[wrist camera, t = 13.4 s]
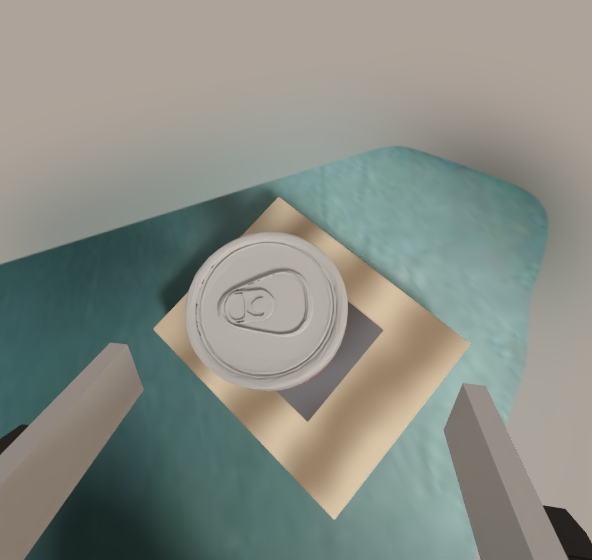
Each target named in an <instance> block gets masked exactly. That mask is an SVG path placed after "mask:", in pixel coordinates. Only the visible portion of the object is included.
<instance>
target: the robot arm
mask: <svg viewBox="0 0 592 560" xmlns="http://www.w3.org/2000/svg"><path fill="white" fill-rule="evenodd" d="M142 392H143V387H142V384H141V381H140V378H139V376H138V373H137V370H136V367H135V365H134V362H133V359H132V356H131V353H130V351H129V348H128V345H126V344H118V343H109V345H108V346H107V347H106V348H105V349H104V350H103V351H102V352H101V353H100V354H99V355H98V356H97V357H96V358H95V359H94V360H93V361H92V362H91V363H90V364H89V365H88V366H87V367H86V368H85V369H84V370H83V371H82V372H81V373H80V374H79V375H78V376H77V377H76V378H75V379H74V380H73V381H72V382H71V383H70V384H69V385H68V386H67V387H66V388H65V389H64V390H63V391H62V393H61V394H60V395H59V396H58V397H57V398H56V399H55V400H54V401H53V402H52V403H51V404H50V405H49V406H48V407H47V408H46V409H45V410H44V411H43V412H42V413H41V414H40V415H39V416H38V417H37V418H36V419H35V420H34V421H33V422H32V423H31V424H30V425H20V426H19V427H17V428H16V429H14V430H13V431H11V432H10V433H8V434H7V435H5V436H4V437H2V438H1V439H0V560H24V559H25V557H26V556H27V555H28V553H29V552H30V550H31V549H32V548H33V546H34V545H35V543H36V542H37V540H38V539H39V538H40V536H41V535H42V533H43V532H44V531H45V529H46V528H47V526H48V525H49V523H50V522H51V521H52V519H53V518H54V516H55V515H56V513H57V512H58V511H59V509H60V508H61V506H62V505H63V504H64V502H65V501H66V499H67V498H68V496H69V495H70V494H71V492H72V491H73V489H74V488H75V487H76V485H77V484H78V482H79V481H80V479H81V478H82V477H83V475H84V474H85V472H86V471H87V470H88V468H89V467H90V465H91V464H92V462H93V461H94V460H95V458H96V457H97V455H98V454H99V453H100V451H101V450H102V448H103V447H104V445H105V444H106V443H107V441H108V440H109V438H110V437H111V436H112V434H113V433H114V431H115V430H116V428H117V427H118V426H119V424H120V423H121V421H122V420H123V419H124V417H125V416H126V414H127V413H128V411H129V410H130V409H131V407H132V406H133V404H134V403H135V402H136V400H137V399H138V397H139V396H140V394H141V393H142ZM444 433H445V437H446V440H447V444H448V447H449V451H450V454H451V458H452V461H453V465H454V468H455V471H456V475H457V478H458V482H459V485H460V489H461V492H462V496H463V499H464V503H465V506H466V510H467V513H468V517H469V520H470V524H471V527H472V531H473V534H474V538H475V541H476V545H477V548H478V552H479V555H480V559H481V560H592V543H591V541H590V540H589V537H588V536H587V534H586V532H585V531H584V530H583V529H582V528H581V527H580V526H579V524H578V523H577V522H576V521H575V520H574V519H573V517H572V516H571V515H570V514H569V513H568V512H567V510H566V509H562V508H555V507H550V506H543V505H542V503H541V501H540V499H539V497H538V495H537V493H536V491H535V489H534V487H533V485H532V483H531V480H530V478H529V476H528V474H527V472H526V470H525V468H524V466H523V463H522V461H521V459H520V457H519V455H518V453H517V451H516V449H515V447H514V445H513V443H512V441H511V438H510V436H509V434H508V432H507V430H506V428H505V426H504V424H503V422H502V419H501V417H500V415H499V413H498V411H497V409H496V407H495V405H494V403H493V401H492V398H491V396H490V394H489V392H488V390H487V388H486V386H481V385H473V384H464V383H463V384H462V387H461V389H460V392H459V394H458V397H457V399H456V401H455V404H454V406H453V409H452V411H451V414H450V416H449V418H448V421H447V423H446V426H445V428H444Z"/></svg>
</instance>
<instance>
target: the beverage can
mask: <svg viewBox="0 0 592 560" xmlns="http://www.w3.org/2000/svg"><path fill="white" fill-rule="evenodd" d="M347 315H348V299H347V294H346V289H345V284H344V282H343V279H342V277H341V275H340V272H339V271H338V269H337V267H336V266H335V264H334V263H333V262H332V261H331V259H330V258H329V257H328V256H327V255H326V254H325V253H324V252H323V251H322V250H321V249H320V248H318V247H317V246H315V245H314V244H312V243H311V242H309V241H307V240H305V239H303V238H300V237H298V236H295V235H291V234H286V233H280V232H261V233H254V234H249V235H246V236H243V237H240V238H237V239H235V240H233V241H231V242H229V243H227V244H225V245H224V246H222V247H221V248H219V249H218V250H217V251H216V252H214V253H213V254H212V255H211V256H210V257H209V258H208V259H207V260H206V261H205V262H204V263H203V265H202V266H201V267H200V269H199V270H198V271H197V273H196V275H195V277H194V279H193V281H192V284H191V286H190V288H189V291H188V294H187V298H186V303H185V324H186V330H187V335H188V338H189V340H190V343H191V346H192V348H193V350H194V351H195V353H196V355H197V356H198V357H199V359H200V360H201V361H202V363H203V364H204V365H205V366H206V367H207V368H208V369H209V370H210V371H211V372H213V373H214V374H216V375H217V376H219V377H220V378H222V379H223V380H225V381H227V382H229V383H232V384H235V385H237V386H240V387H245V388H249V389H253V390H257V391H265V392H268V391H279V390H287V389H289V388H292V387H295V386H298V385H300V384H303V383H305V382H306V381H308V380H310V379H311V378H313V377H315V376H316V375H317V374H318V373H319V372H321V371H322V370H323V369H324V368H325V367H326V366H327V365H328V364H329V362H330V361H331V360H332V358H333V357H334V356H335V354H336V352H337V350H338V349H339V347H340V345H341V342H342V339H343V337H344V334H345V329H346V325H347Z"/></svg>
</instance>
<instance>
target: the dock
mask: <svg viewBox="0 0 592 560" xmlns="http://www.w3.org/2000/svg"><path fill="white" fill-rule="evenodd" d="M261 232H280V233H286V234H291V235H295V236H298V237H300V238H303V239H305V240H307V241H309V242H311V243H312V244H314V245H315V246H317V247H318V248H320V249H321V250H322V251H323V252H324V253H325V254H326V255H327V256H328V257H329V258H330V259H331V261H332V262H333V263H334V264H335V266H336V267H337V269H338V271H339V272H340V275H341V277H342V279H343V282H344V284H345V289H346V294H347V299H348V315H347V325H346V329H345V334H344V337H343V339H342V342H341V345H340V347H339V349H338V350H337V352H336V354H335V356H334V357H333V358H332V360H331V361H330V362H329V364H328V365H327V366H326V367H325V368H324V369H323V370H322V371H321V372H319V373H318V374H317V375H316V376H315V377H313V378H311V379H310V380H308V381H306V382H305V383H303V384H300V385H298V386H295V387H292V388H289V389H287V390H279V391H268V392H265V391H257V390H253V389H249V388H245V387H240V386H237V385H235V384H232V383H229V382H227V381H225V380H223V379H222V378H220V377H219V376H217V375H216V374H214V373H213V372H211V371H210V370H209V369H208V368H207V367H206V366H205V365H204V364H203V363H202V361H201V360H200V359H199V357H198V356H197V355H196V353H195V351H194V350H193V348H192V346H191V343H190V340H189V338H188V335H187V330H186V324H185V303H186V298H187V294H188V293H187V294H186V295H185V296H184V297H183V298H182V299H181V300H180V301H179V302H178V303H177V304H176V305H175V306H174V307H173V308H172V309H171V311H170V312H169V313H168V314H167V315H166V316H165V317H164V318H163V319H162V320H161V321H160V322H159V323H158V324H157V325H156V326H155V327H154V328H153V329H154V331H155V332H156V333H157V334H158V335H159V336H160V337H161V338H162V339H163V340H164V341H165V342H166V343H167V344H168V345H169V346H170V347H171V348H172V349H173V351H174V352H175V353H176V354H177V355H178V356H179V357H180V358H181V359H182V360H183V361H184V362H185V363H186V364H187V365H188V366H189V367H190V368H191V370H192V371H193V372H194V373H195V374H196V375H197V376H198V377H199V378H200V379H201V380H202V381H203V382H204V383H205V384H206V385H207V386H208V387H209V388H210V390H211V391H212V392H213V393H214V394H215V395H216V396H217V397H218V398H219V399H220V400H221V401H222V402H223V403H224V404H225V405H226V406H227V407H228V409H229V410H230V411H231V412H232V413H233V414H234V415H235V416H236V417H237V418H238V419H239V420H240V421H241V422H242V423H243V424H244V425H245V426H246V427H247V429H248V430H249V431H250V432H251V433H252V434H253V435H254V436H255V437H256V438H257V439H258V440H259V441H260V442H261V443H262V444H263V445H264V446H265V448H266V449H267V450H268V451H269V452H270V453H271V454H272V455H273V456H274V457H275V458H276V459H277V460H278V461H279V462H280V463H281V464H282V465H283V466H284V468H285V469H286V470H287V471H288V472H289V473H290V474H291V475H292V476H293V477H294V478H295V479H296V480H297V481H298V482H299V483H300V484H301V485H302V487H303V488H304V489H305V490H306V491H307V492H308V493H309V494H310V495H311V496H312V497H313V498H314V499H315V500H316V501H317V502H318V503H319V504H320V505H321V507H322V508H323V509H324V510H325V511H326V512H327V513H328V514H329V515H330V516H331V517H332V518H333V519H334V520H335V519H336V517H337V516H338V515H339V513H340V512H341V511H342V510H343V508H344V507H345V506H346V504H347V503H348V502H349V501H350V499H351V498H352V497H353V495H354V494H355V493H356V491H357V490H358V489H359V488H360V486H361V485H362V484H363V482H364V481H365V480H366V479H367V477H368V476H369V475H370V473H371V472H372V471H373V470H374V468H375V467H376V466H377V464H378V463H379V462H380V460H381V459H382V458H383V457H384V455H385V454H386V453H387V451H388V450H389V449H390V448H391V446H392V445H393V444H394V442H395V441H396V440H397V438H398V437H399V436H400V435H401V433H402V432H403V431H404V429H405V428H406V427H407V426H408V424H409V423H410V422H411V420H412V419H413V418H414V417H415V415H416V414H417V413H418V411H419V410H420V409H421V407H422V406H423V405H424V404H425V402H426V401H427V400H428V398H429V397H430V396H431V395H432V393H433V392H434V391H435V389H436V388H437V387H438V385H439V384H440V383H441V382H442V380H443V379H444V378H445V376H446V375H447V374H448V373H449V371H450V370H451V369H452V367H453V366H454V365H455V364H456V362H457V361H458V360H459V358H460V357H461V356H462V354H463V353H464V352H465V351H466V349H467V348H468V347H469V345H470V343H469V342H468V341H466V340H465V339H464V338H463V337H461V336H460V335H459V334H457V333H456V332H455V331H453V330H452V329H451V328H450V327H448V326H447V325H446V324H444V323H443V322H442V321H440V320H439V319H438V318H436V317H435V316H434V315H433V314H431V313H430V312H429V311H427V310H426V309H425V308H423V307H422V306H421V305H420V304H418V303H417V302H416V301H414V300H413V299H412V298H410V297H409V296H408V295H406V294H405V293H404V292H403V291H401V290H400V289H399V288H397V287H396V286H395V285H393V284H392V283H391V282H390V281H388V280H387V279H386V278H384V277H383V276H382V275H380V274H379V273H378V272H376V271H375V270H374V269H373V268H371V267H370V266H369V265H367V264H366V263H365V262H363V261H362V260H361V259H360V258H358V257H357V256H356V255H354V254H353V253H352V252H350V251H349V250H348V249H346V248H345V247H344V246H343V245H341V244H340V243H339V242H337V241H336V240H335V239H333V238H332V237H331V236H330V235H328V234H327V233H326V232H324V231H323V230H322V229H320V228H319V227H318V226H316V225H315V224H314V223H313V222H311V221H310V220H309V219H307V218H306V217H305V216H303V215H302V214H301V213H300V212H298V211H297V210H296V209H294V208H293V207H292V206H290V205H289V204H288V203H286V202H285V201H284V200H283V199H281V198H280V197H278V198H277V199H276V200H275V201H274V202H273V203H272V204H271V205H270V206H269V207H268V208H267V209H266V210H265V211H264V213H263V214H262V215H261V216H260V217H259V218H258V219H257V220H256V221H255V222H254V223H253V224H252V225H251V226H250V227H249V228H248V229H247V230H246V231H245V233H244V234H243V235H242V236H241V237H243V236H246V235H249V234H254V233H261Z"/></svg>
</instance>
